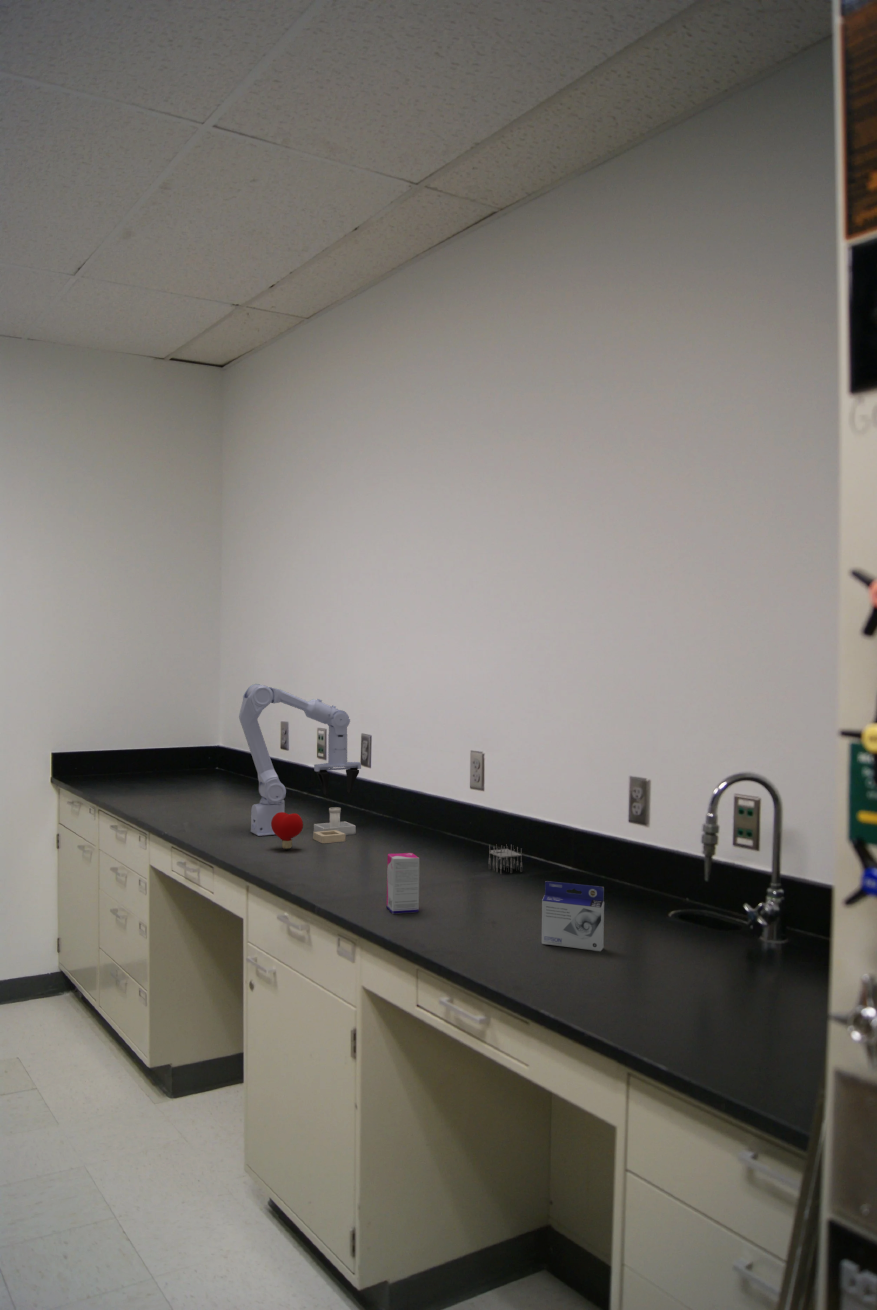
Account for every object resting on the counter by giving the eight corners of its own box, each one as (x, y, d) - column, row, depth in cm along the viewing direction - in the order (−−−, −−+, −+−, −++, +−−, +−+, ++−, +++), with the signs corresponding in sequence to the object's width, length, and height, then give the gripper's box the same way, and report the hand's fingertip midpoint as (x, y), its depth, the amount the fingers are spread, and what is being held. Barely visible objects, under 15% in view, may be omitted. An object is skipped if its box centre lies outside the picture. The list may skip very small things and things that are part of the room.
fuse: (331, 833, 284) (331, 809, 284) (327, 831, 287) (327, 807, 287) (342, 832, 285) (342, 808, 285) (338, 830, 288) (338, 806, 288)
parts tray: (323, 837, 281) (323, 828, 281) (313, 832, 288) (313, 824, 288) (355, 834, 285) (355, 825, 285) (345, 829, 292) (345, 821, 292)
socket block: (322, 843, 272) (322, 836, 272) (313, 839, 278) (313, 832, 278) (345, 841, 275) (345, 834, 275) (336, 836, 281) (336, 829, 281)
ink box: (540, 945, 180) (540, 883, 180) (543, 941, 183) (544, 880, 183) (602, 952, 176) (602, 889, 176) (604, 948, 179) (605, 886, 178)
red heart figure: (308, 848, 265) (308, 812, 265) (294, 853, 258) (294, 816, 258) (280, 845, 269) (280, 809, 268) (265, 850, 262) (265, 813, 262)
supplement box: (419, 912, 202) (420, 857, 202) (392, 914, 201) (392, 859, 201) (412, 905, 208) (412, 851, 208) (385, 907, 206) (385, 853, 206)
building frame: (500, 875, 236) (500, 850, 236) (485, 868, 243) (485, 844, 243) (522, 872, 238) (522, 848, 238) (507, 865, 246) (507, 842, 245)
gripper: (320, 751, 288) (320, 797, 288) (365, 749, 295) (365, 793, 295) (311, 749, 294) (311, 794, 294) (355, 747, 301) (355, 790, 301)
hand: (337, 793), depth 295 cm, fingers open, 7 cm apart
